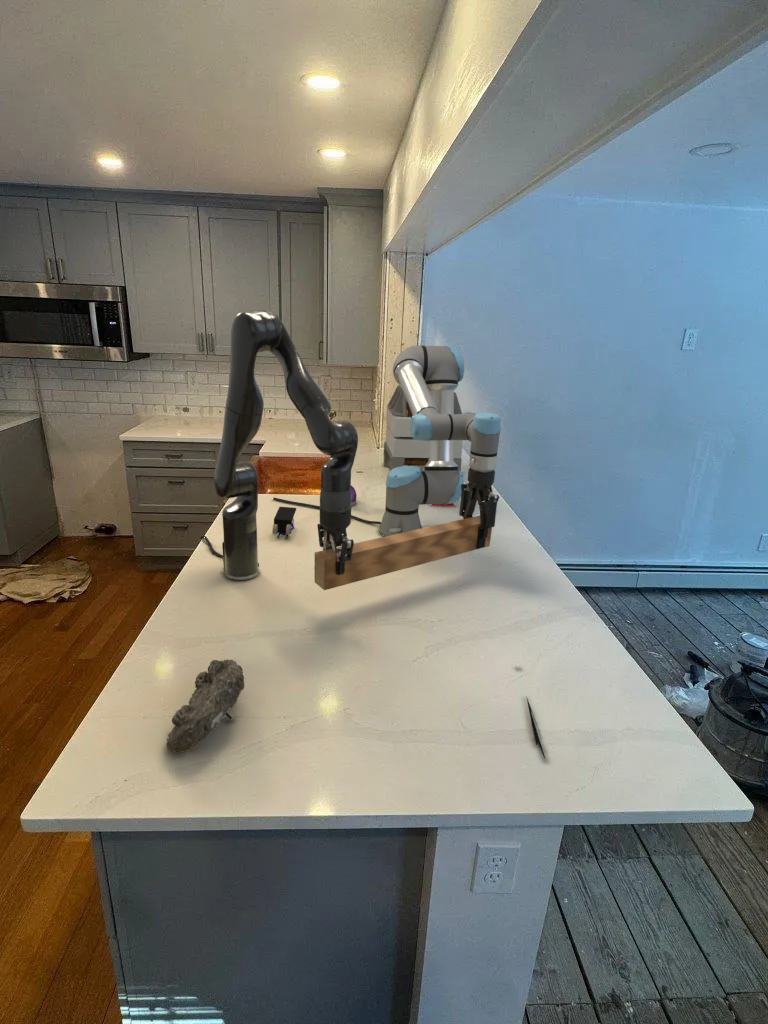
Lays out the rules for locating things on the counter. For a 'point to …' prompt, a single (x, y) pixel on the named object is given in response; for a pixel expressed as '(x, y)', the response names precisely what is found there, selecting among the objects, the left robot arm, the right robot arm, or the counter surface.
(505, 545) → the counter surface
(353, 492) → the figurine
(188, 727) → the fossil
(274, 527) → the figurine character
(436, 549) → the beam
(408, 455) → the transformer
